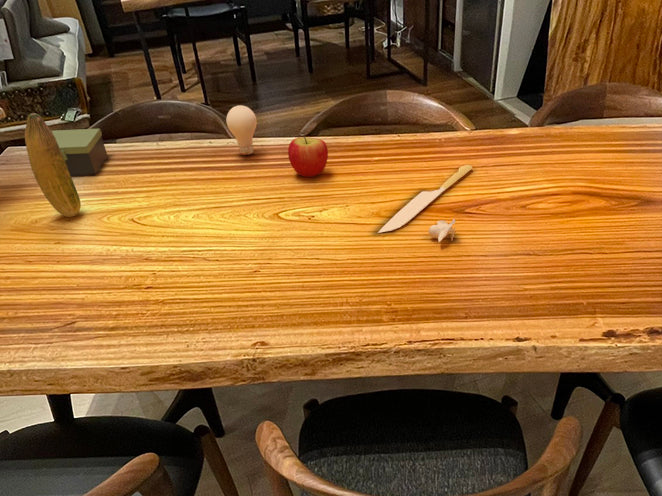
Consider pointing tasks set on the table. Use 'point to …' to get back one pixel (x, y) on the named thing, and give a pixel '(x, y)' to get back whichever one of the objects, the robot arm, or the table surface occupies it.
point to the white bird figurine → (442, 229)
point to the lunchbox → (81, 150)
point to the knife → (421, 202)
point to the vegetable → (50, 167)
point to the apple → (308, 155)
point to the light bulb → (242, 127)
